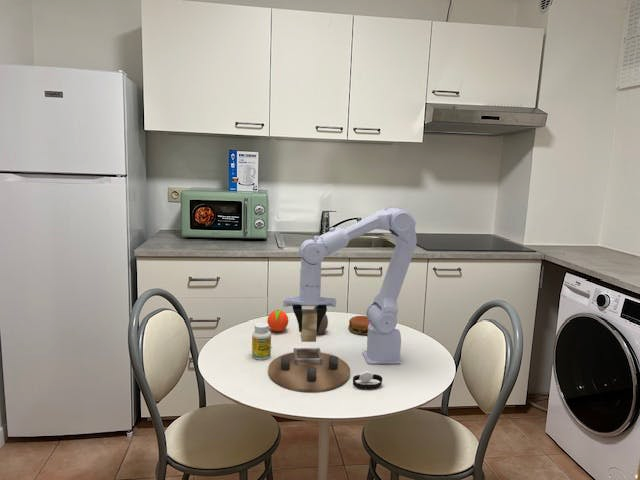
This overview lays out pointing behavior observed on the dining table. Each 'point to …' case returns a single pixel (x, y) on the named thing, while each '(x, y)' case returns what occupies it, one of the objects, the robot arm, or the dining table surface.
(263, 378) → the dining table surface
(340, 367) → the stool seat
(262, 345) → the supplement bottle
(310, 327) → the stool leg
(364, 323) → the burger
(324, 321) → the vase
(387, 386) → the dining table surface
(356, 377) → the watch
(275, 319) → the clementine
